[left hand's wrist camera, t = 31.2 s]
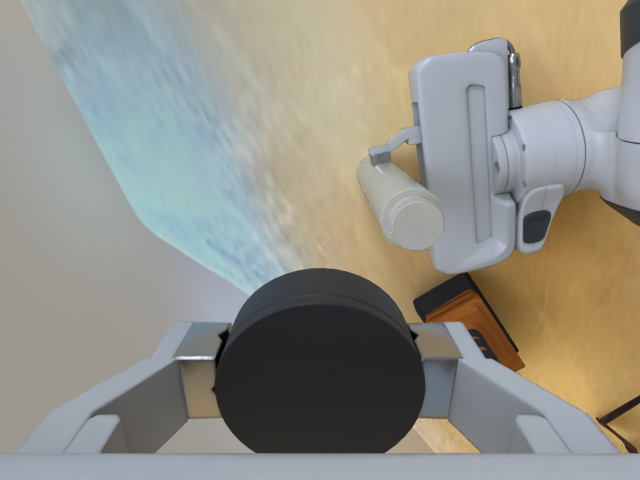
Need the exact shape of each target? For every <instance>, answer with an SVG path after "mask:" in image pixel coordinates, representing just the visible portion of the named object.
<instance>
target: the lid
mask: <svg viewBox="0 0 640 480" xmlns="http://www.w3.org/2000/svg"><path fill="white" fill-rule="evenodd" d="M425 388H426V384H425V374H424V370H423V366H422V363H421V360H420V357H419V355H418V352H417V350H416V347H415V344H414V342H413V339H412V337H411V334H410V332H409V329H408V326H407V324H406V321H405V319H404V317H403V315H402V312H401V311H400V309H399V308H398V306H397V304H396V303H395V302H394V301H393V300H392V298H391V297H390V296H389V295H388V294H387V293H386V292H385V291H383V290H382V289H381V288H380V287H378V286H377V285H375V284H374V283H372V282H371V281H369V280H367V279H365V278H363V277H361V276H358V275H355V274H352V273H349V272H346V271H341V270H337V269H327V268H313V269H304V270H298V271H295V272H291V273H287V274H285V275H282V276H280V277H277V278H275V279H273V280H271V281H270V282H268V283H266V284H265V285H263V286H262V287H261V288H259V289H258V290H257V291H255V292H254V293H253V294H252V295H251V297H250V298H249V299H248V300H247V301H246V302H245V304H244V305H243V306H242V308H241V309H240V311H239V313H238V315H237V317H236V319H235V322H234V325H233V327H232V330H231V332H230V335H229V337H228V340H227V343H226V345H225V348H224V351H223V353H222V356H221V358H220V361H219V364H218V367H217V370H216V377H215V395H216V401H217V405H218V408H219V411H220V414H221V416H222V418H223V420H224V422H225V423H226V425H227V426H228V428H229V429H230V430H231V432H232V433H233V434H234V435H235V436H236V437H237V438H238V439H239V441H241V442H242V443H243V444H244V445H245V446H247V447H248V448H249V449H251V450H252V451H254V452H255V453H385V452H387V451H388V450H390V449H391V448H392V447H394V446H395V445H396V444H397V443H398V442H400V441H401V440H402V439H403V438H404V437H405V436H406V435H407V433H408V432H409V431H410V430H411V428H412V427H413V425H414V424H415V422H416V420H417V419H418V416H419V414H420V412H421V409H422V406H423V402H424V398H425Z"/></svg>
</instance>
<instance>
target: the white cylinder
mask: <svg viewBox="0 0 640 480" xmlns="http://www.w3.org/2000/svg"><path fill="white" fill-rule="evenodd" d="M357 179H358V182H359V184H360V186H361V188H362V190H363V192H364V194H365V196H366V198H367V200H368V202H369V204H370V207H371V209H372V211H373V213H374V215H375V217H376V219H377V221H378V223H379V225H380V227H381V229H382V231H383V233H384V235H385V237H386V238H387V239H388V240H389V241H390V242H391V243H392V244H394V245H396V246H398V247H401V248H404V249H407V250H411V251H420V250H424V249H427V248H429V247H431V246H432V245H434V244H435V243H436V242H437V241H438V240H439V238H440V237H441V235H442V233H443V231H444V226H445V218H444V211H443V207H442V205H441V203H440V201H439V200H438V198H437V197H436V196H435V195H434V194H432V193H431V192H430V191H429V190H427V189H426V188H425V187H424V186H422V185H421V184H420V183H418V182H417V181H416V180H415V179H413V178H412V177H411V176H410V175H408V174H407V173H406V172H405V171H403V170H402V169H401V168H400V167H398V166H397V165H396V164H395V163H393V162H392V161H391V162H387V163H383V162H381V163H380V164H377V165H371V163H370V158H369V156H367V157H366V158H364V159H363V160H362V161H361V163H360V164H359V166H358V169H357Z"/></svg>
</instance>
